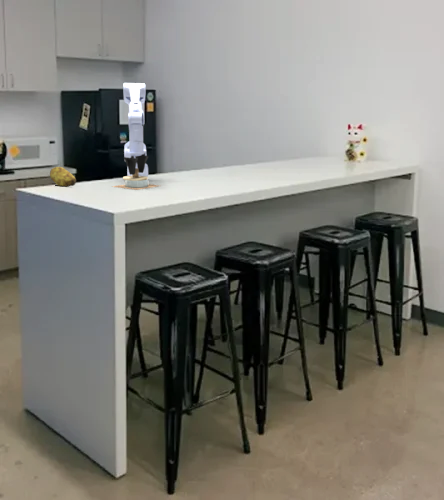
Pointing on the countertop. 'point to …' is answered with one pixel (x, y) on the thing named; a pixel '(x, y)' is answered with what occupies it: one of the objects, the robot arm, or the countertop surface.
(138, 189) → the board
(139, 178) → the lid
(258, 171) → the countertop surface
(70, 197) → the countertop surface
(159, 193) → the countertop surface
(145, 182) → the bowl
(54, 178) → the potato
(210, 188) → the countertop surface
